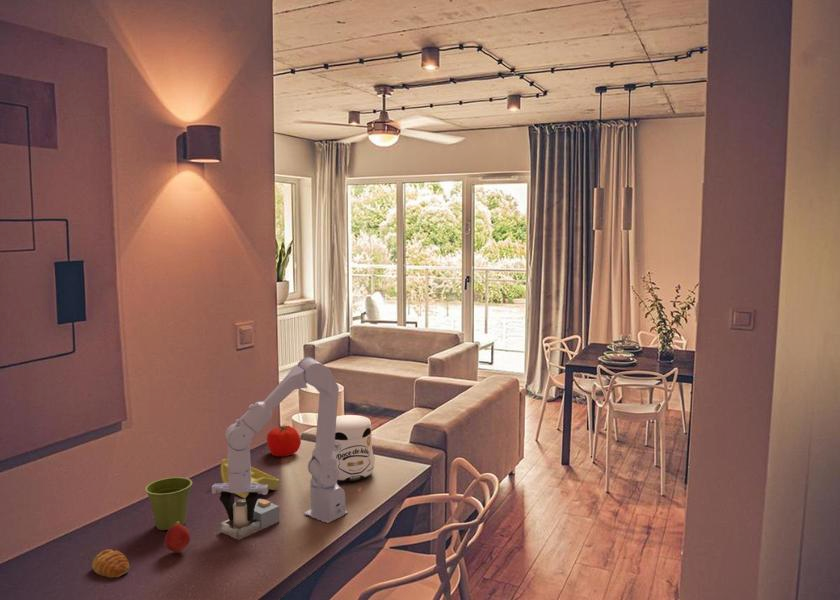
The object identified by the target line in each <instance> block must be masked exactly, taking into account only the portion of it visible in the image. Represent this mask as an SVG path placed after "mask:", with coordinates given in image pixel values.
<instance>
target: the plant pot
mask: <svg viewBox="0 0 840 600" xmlns="http://www.w3.org/2000/svg"><path fill="white" fill-rule="evenodd" d="M192 485H193V481H192V479H190V478H188V477H181V476H180V477H179V476H177V477H166V478H165V477H164V478H161V479H158V480H155V481H152V482H150V483H148V484H147V485H146V486H145V488H144V492H146V493H147V496H148V499H149V501H150V504H151V509H152V513H153V517H154V522H155V526H156V529H157V530H159V531H166V530H167V531H168V530H169V529H170V528H171V527H172V526H173V525H174V524H175V523H176V522H180V525H183V526H185V525H184V524H185V523H186V517H187V510H188V509H187V508H188V501H189V495H190V491H191V487H192Z"/></svg>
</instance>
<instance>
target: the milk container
mask: <svg viewBox="0 0 840 600" xmlns="http://www.w3.org/2000/svg"><path fill="white" fill-rule="evenodd" d="M371 421H372V420H371V419H370V418H368V417H366V416H363V415H357V414H356V415H354V414H344V415H337V418H336V430H335V443H334V452H335V456H336V460H337V469H338V471H339V478H338V480H337V482H341V483H342V482H343V483H345V482H346V483H347V482H350V483H351V482H357V481H360V480H361V481H362V480H363V479H366V478H368V477H369V476H370V475H371V474H372V473H373V472H374V469H375V464H376V463H375V461H376V460H375V459H376V458H375V454H374V451H373V447H372V446H373V444H372V443H373V441H372V437H373V435H372V423H371Z"/></svg>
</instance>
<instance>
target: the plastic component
mask: <svg viewBox="0 0 840 600" xmlns="http://www.w3.org/2000/svg"><path fill="white" fill-rule="evenodd" d="M220 476H221V480H222V483H229V482H228V458H227V459H226V458H223V459H222V460H221V461H220ZM251 482H252V483H257V484H263V485H268V490H270V491H275V490H277V488H278V485H279V483H280V479H279V478H277V477H274V476H272V475H270V474H269V473H266V472H264V471H261V470H259V469H258V468H255V467H253V466H251ZM247 495H249V493H235V496H239V497H240V498H241V499H245V498H246V497H247ZM245 500H246V499H245Z"/></svg>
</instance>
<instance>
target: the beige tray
mask: <svg viewBox="0 0 840 600" xmlns="http://www.w3.org/2000/svg"><path fill="white" fill-rule="evenodd" d="M219 524H220V526H219V527H220V533H221V534H224V533H225V534H224V535H226V534H227V535H226V536H228V535H229V537H230V536H231V537H230V538H232V537H233V538H232V539H234V538H235V540H236V539H237V541H241V540H243V539H244V538H243V537H245V536H247V535H249V534H251V533H253V532H255V531H257V530H260V529H261V521H260V520H257V519H255V518H252V520H251V521H250V524H249V525H247V526H245V527H242V528H240V529H237V528H235V527H233V520H232V521H230V520H229V518H228V519H227V520H224V521H222V522H220V523H219ZM260 531H261V530H260ZM251 535H252V534H251ZM249 536H250V535H249ZM247 537H248V536H247ZM242 538H243V539H242ZM245 538H246V537H245ZM240 539H241V540H240Z"/></svg>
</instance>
